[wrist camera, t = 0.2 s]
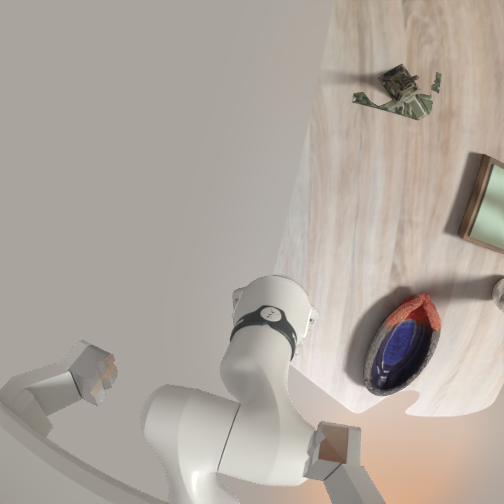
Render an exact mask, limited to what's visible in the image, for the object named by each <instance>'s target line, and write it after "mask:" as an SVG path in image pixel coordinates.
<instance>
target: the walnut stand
mask: <svg viewBox="0 0 504 504" xmlns="http://www.w3.org/2000/svg"><path fill="white" fill-rule="evenodd" d="M458 234H459V235H460V236H461V237H462V239H464V240H467V241H470V242H473V243H475V244H478V245H481V246H484V247H486V248H489V249H492V250H494V251H497V252H499V253H502V254H504V163H502V162H500V161H498V160H496V159H494V158H492V157H490V156H487V155H485V154H484V155H483V158H482V162H481V166H480V169H479V172H478V176H477V179H476V182H475V186H474V189H473V192H472V195H471V198H470V201H469V204H468V207H467V210H466V212H465V215H464V218H463V221H462V223H461V226H460V228H459V231H458Z"/></svg>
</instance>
